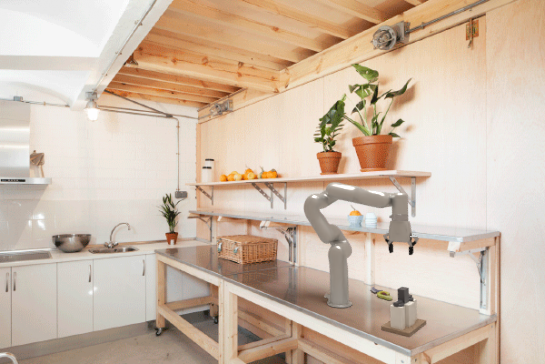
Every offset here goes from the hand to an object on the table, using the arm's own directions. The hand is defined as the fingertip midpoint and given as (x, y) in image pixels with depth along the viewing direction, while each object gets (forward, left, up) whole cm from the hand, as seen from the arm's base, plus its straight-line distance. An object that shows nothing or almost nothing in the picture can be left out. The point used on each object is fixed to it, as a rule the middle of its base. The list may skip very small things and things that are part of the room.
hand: (400, 253), depth 178 cm
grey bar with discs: (+8, -17, -18) cm, 26 cm away
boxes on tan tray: (+8, -17, -28) cm, 34 cm away
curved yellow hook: (-22, +23, -29) cm, 43 cm away
